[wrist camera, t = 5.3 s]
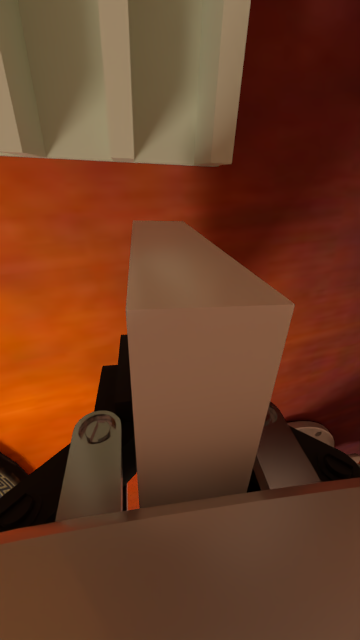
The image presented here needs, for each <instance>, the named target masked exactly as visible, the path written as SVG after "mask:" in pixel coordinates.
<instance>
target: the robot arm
mask: <svg viewBox="0 0 360 640" xmlns="http://www.w3.org/2000/svg"><path fill="white" fill-rule="evenodd" d="M136 472H137V462H136V448H135V434H134V419H133V405H132V391H131V377H130V362H129V348H128V335H121V339H120V349H119V359H118V365H109V366H103V367H102V372H101V377H100V383H99V388H98V393H97V399H96V404H95V410H94V412H92V413H90V414H88V415H86V416H84V417H83V418H82V419H80V420H79V422H78V423H77V424H76V425H75V428H74V431H73V435H72V440H71V443H70V444H69V445H67V446H66V447H65V448H63V449H62V450H61V451H60V452H58V453H57V454H56V455H54V456H53V457H52V458H51V459H49V460H48V461H47V462H45V463H44V464H43V465H42V466H40V467H39V468H38V469H36V470H35V471H34V472H33V473H31V474H30V475H29V476H27V477H26V478H25V479H23V480H22V481H21V482H20V483H18V484H17V485H16V486H14V487H13V488H12V489H11V490H9V491H8V492H7V493H5V494H4V495H3V496H2V497H1V498H0V640H360V456H359V455H358V454H356V453H354V454H347V455H346V454H345V453H343V452H342V451H340V450H338V449H336V448H334V439H333V436H332V435H331V434H330V432H329V431H328V430H327V429H326V428H325V427H324V426H323V425H321V424H319V423H316V422H311V421H296V422H290V423H287V422H286V420H285V419H284V417H283V415H282V414H281V412H280V410H279V409H278V408H277V407H276V406H275V405H274V404H273V403H272V402H270V403H269V407H268V411H267V415H266V419H265V423H264V427H263V430H262V434H261V438H260V442H259V446H258V450H257V454H256V458H255V462H254V466H253V469H252V473H251V477H250V481H249V485H248V489H247V493H242V494H235V495H228V496H222V497H215V498H208V499H201V500H195V501H188V502H181V503H174V504H168V505H161V506H155V507H148V508H141V509H135V510H128V493H127V483H128V481H129V480H130V479H131V478H132V477H133V476H134V475H135V474H136Z"/></svg>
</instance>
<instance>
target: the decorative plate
mask: <svg viewBox="0 0 360 640" xmlns="http://www.w3.org/2000/svg"><path fill="white" fill-rule="evenodd" d="M27 476H29V475H28V474H27V473H26V472H25V471H24V470H23V469H22V468H21V467H20V466H19V465H18V464H17V463H16V462H14V461H13V460H11V459H10V458H8V457H7V456H5V455H4V454H2V453H1V452H0V498H1V497H2V496H3V495H4V494H5V493H7V492H8V491H9V490H11V489H12V488H13V487H14V486H16V485H17V484H18V483H20V482H21V481H22V480H23V479H25V478H26V477H27Z"/></svg>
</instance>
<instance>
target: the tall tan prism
mask: <svg viewBox="0 0 360 640" xmlns="http://www.w3.org/2000/svg"><path fill="white" fill-rule="evenodd" d="M294 306H295V304H294V303H292V302H291V301H290V300H288V299H287V298H286V297H284V296H283V295H282V294H280V293H279V292H278V291H276V290H275V289H274V288H272V287H271V286H270V285H268V284H267V283H266V282H264V281H263V280H261V279H260V278H259V277H257V276H256V275H255V274H253V273H252V272H251V271H249V270H248V269H247V268H245V267H244V266H243V265H241V264H240V263H239V262H237V261H236V260H234V259H233V258H232V257H230V256H229V255H228V254H226V253H225V252H224V251H222V250H221V249H220V248H218V247H217V246H216V245H214V244H213V243H212V242H210V241H209V240H208V239H206V238H205V237H203V236H202V235H201V234H199V233H198V232H197V231H195V230H194V229H193V228H191V227H190V226H189V225H187V224H186V223H185V222H183V221H133V226H132V239H131V251H130V264H129V276H128V289H127V302H126V320H127V334H128V348H129V362H130V377H131V391H132V405H133V419H134V434H135V448H136V462H137V476H138V490H139V505H140V509H141V508H148V507H155V506H161V505H168V504H174V503H181V502H188V501H195V500H201V499H208V498H215V497H222V496H228V495H235V494H242V493H247V489H248V485H249V481H250V477H251V473H252V469H253V466H254V462H255V458H256V454H257V450H258V446H259V442H260V438H261V434H262V430H263V427H264V423H265V419H266V415H267V411H268V407H269V403H270V399H271V395H272V392H273V388H274V384H275V380H276V376H277V372H278V368H279V364H280V360H281V356H282V353H283V349H284V345H285V341H286V337H287V333H288V329H289V325H290V321H291V318H292V314H293V310H294Z"/></svg>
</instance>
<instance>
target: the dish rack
mask: <svg viewBox="0 0 360 640" xmlns="http://www.w3.org/2000/svg"><path fill="white" fill-rule="evenodd" d="M250 3H251V0H0V156H15V157H34V158H53V159H73V160H92V161H112V162H131V163H150V164H170V165H189V166H209V167H218V166H219V165H226V164H232V157H233V149H234V140H235V131H236V123H237V114H238V106H239V97H240V89H241V80H242V72H243V63H244V54H245V46H246V37H247V29H248V20H249V12H250Z"/></svg>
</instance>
